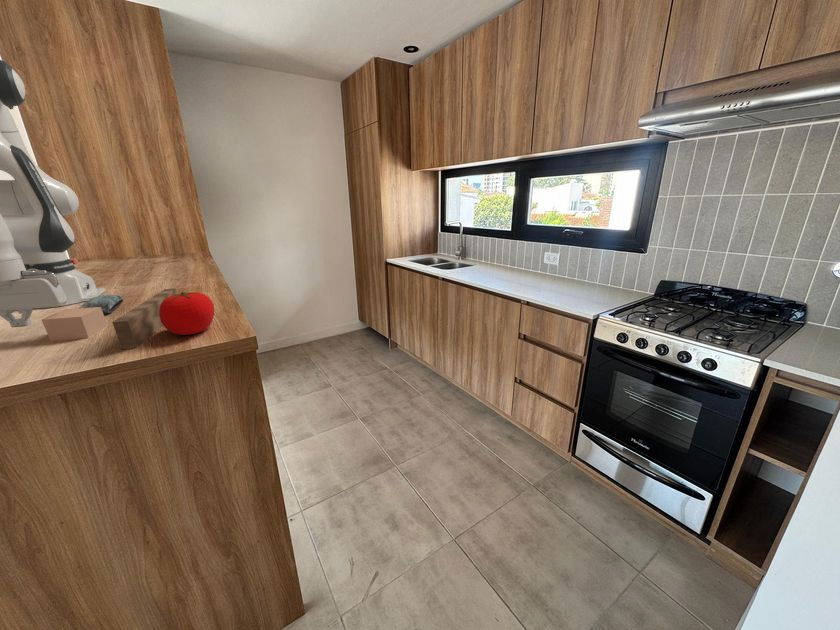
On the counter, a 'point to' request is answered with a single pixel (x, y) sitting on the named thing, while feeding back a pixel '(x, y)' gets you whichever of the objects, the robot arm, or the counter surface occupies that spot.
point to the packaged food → (104, 303)
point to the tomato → (186, 313)
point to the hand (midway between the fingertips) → (22, 326)
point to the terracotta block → (75, 323)
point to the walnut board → (141, 321)
